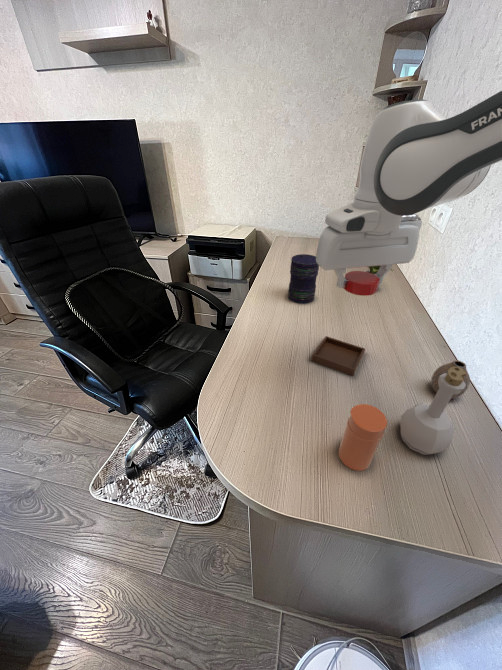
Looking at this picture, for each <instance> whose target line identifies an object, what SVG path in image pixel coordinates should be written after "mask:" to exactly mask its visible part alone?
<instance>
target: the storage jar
mask: <svg viewBox="0 0 502 670" xmlns="http://www.w3.org/2000/svg"><path fill="white" fill-rule="evenodd" d="M290 259H291V262H290V266H289V267H290V270H289V273H290V278H289V283H288V295H287V298H288V300H289V301H290V302H292V303H293V304H294V303H295V304H298V305H306V304H311V303H312V302H314V300H315V295H316V291H317V290H316V289H317V277H318V275H319V270H320V266H319V265H318V264H317V262H316V255H312V254H306V253H305V254H304V253H301V254H295V255H292V257H291V258H290Z"/></svg>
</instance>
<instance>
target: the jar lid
mask: <svg viewBox="0 0 502 670" xmlns="http://www.w3.org/2000/svg"><path fill="white" fill-rule="evenodd" d="M344 277H345V278H346V279H347V280H348V283H347V287H345V288H343V289H344V290H345V291H346V292H348V293H349V294H352V295H355V296H362V297H363V296H364V297H365V296H366V297H367V296H372V295H374V294H376V293H377V292H378V290H379V288H378V286H379V281H380V279H379V277H378V276H376V275H374V274H372V273H369V272H366V271H364V270H363V271H362V270H352V271H348V272H345V273H344ZM379 287H380V286H379ZM377 289H378V290H377Z"/></svg>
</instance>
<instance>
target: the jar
mask: <svg viewBox="0 0 502 670" xmlns="http://www.w3.org/2000/svg"><path fill="white" fill-rule="evenodd" d="M349 413H350V415H349V416H348V419H347V421H346V425H345V428H344V431H343V434H342V437H341V442H340V444H339V448H338V452H337V453H338V457H339V459H340V461H341V463H342V464H343V465H345V467H347V468H348V469H350V470H352V471H355V472H357V471H358V472H360V471H361V472H362V471H365V470H367V469H368V468H369V467H370V466H371V463H372V460H373V459H374V456H375V454H376V453H377V450H378V447H379V445H380V443H381V441H382V439H383V437H384V434H385V430H386V428H387V427H388V420H387V417H386V415H385V414H384V413H383V412H382V411H381V409H379V408H378V407H376V406H373V405H371V404H366V403H361V404H356V405H354V406H353V407H352V408H351V409H350V412H349Z"/></svg>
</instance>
